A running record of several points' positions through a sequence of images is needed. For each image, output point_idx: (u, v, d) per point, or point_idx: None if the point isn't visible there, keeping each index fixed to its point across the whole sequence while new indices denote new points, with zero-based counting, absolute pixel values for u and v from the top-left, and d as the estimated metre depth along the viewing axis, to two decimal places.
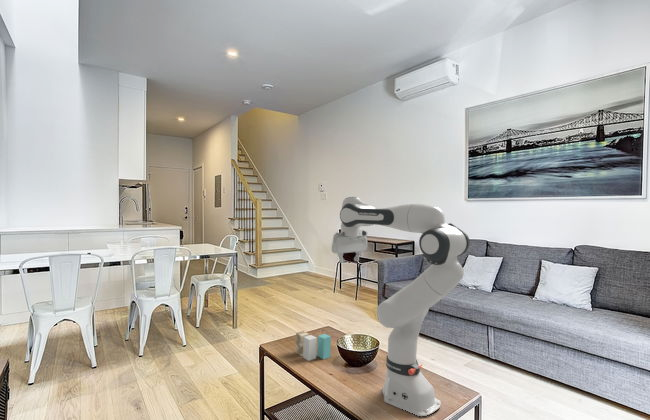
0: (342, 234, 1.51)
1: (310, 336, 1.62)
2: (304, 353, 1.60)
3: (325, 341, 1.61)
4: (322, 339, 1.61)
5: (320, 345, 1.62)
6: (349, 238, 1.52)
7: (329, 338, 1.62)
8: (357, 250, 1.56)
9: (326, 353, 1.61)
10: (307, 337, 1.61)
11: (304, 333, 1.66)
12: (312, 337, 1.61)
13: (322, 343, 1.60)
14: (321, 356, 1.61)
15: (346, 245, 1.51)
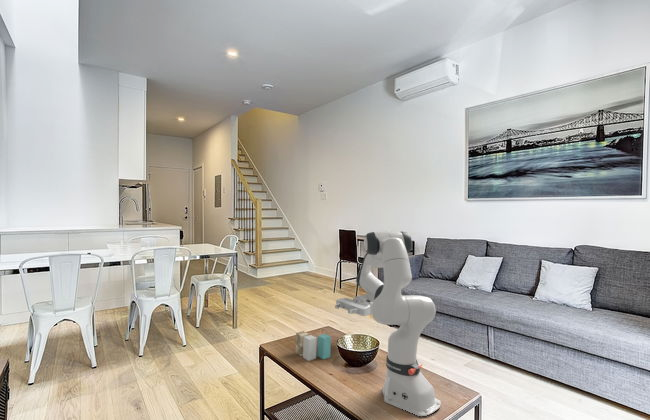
0: None
1: (310, 336, 1.62)
2: (304, 353, 1.60)
3: (325, 341, 1.61)
4: (322, 339, 1.61)
5: (320, 345, 1.62)
6: (353, 300, 1.80)
7: (329, 338, 1.62)
8: (354, 305, 1.72)
9: (326, 353, 1.61)
10: (307, 337, 1.61)
11: (304, 333, 1.66)
12: (312, 337, 1.61)
13: (322, 343, 1.60)
14: (321, 356, 1.61)
15: (347, 301, 1.79)
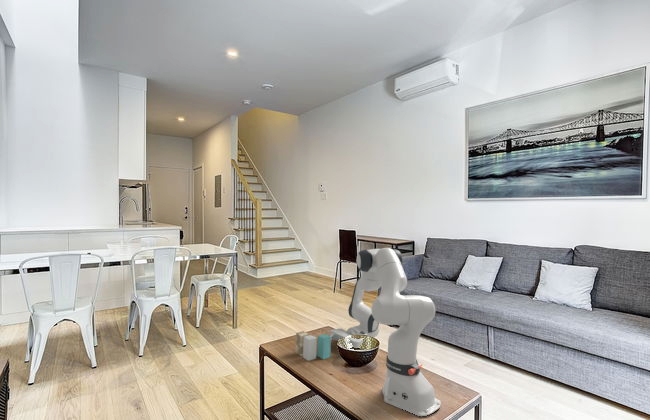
0: None
1: (310, 336, 1.62)
2: (304, 353, 1.60)
3: (325, 341, 1.61)
4: (322, 339, 1.61)
5: (320, 345, 1.62)
6: (347, 331, 1.77)
7: (329, 338, 1.62)
8: None
9: (326, 353, 1.61)
10: (307, 337, 1.61)
11: (304, 333, 1.66)
12: (312, 337, 1.61)
13: (322, 343, 1.60)
14: (321, 356, 1.61)
15: (341, 332, 1.76)
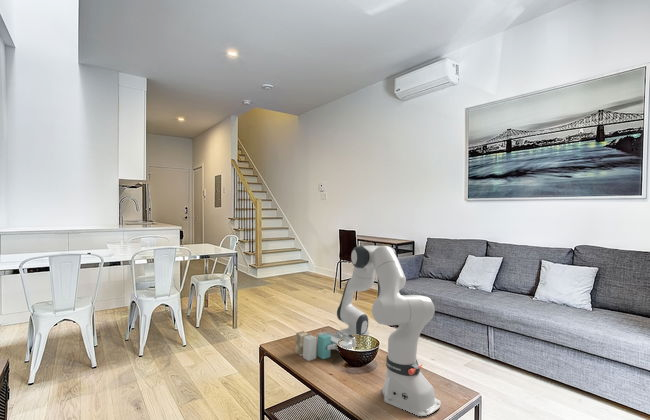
0: None
1: (310, 336, 1.62)
2: (304, 353, 1.60)
3: (325, 341, 1.61)
4: (322, 339, 1.61)
5: (320, 344, 1.62)
6: (336, 334, 1.72)
7: (329, 338, 1.62)
8: (335, 341, 1.63)
9: (326, 353, 1.61)
10: (307, 337, 1.61)
11: (304, 333, 1.66)
12: (312, 337, 1.61)
13: (322, 342, 1.60)
14: (321, 356, 1.61)
15: (329, 335, 1.71)
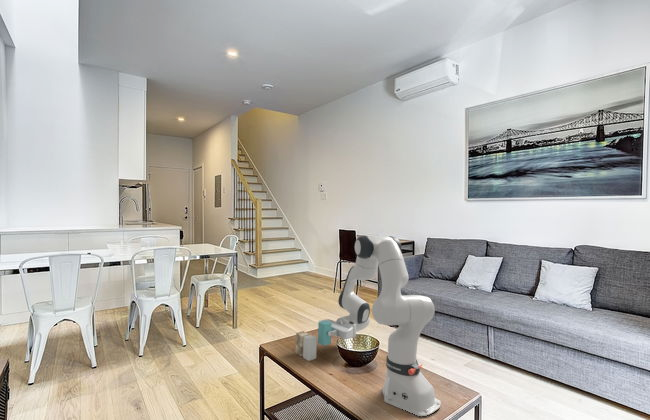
0: None
1: (310, 336, 1.62)
2: (304, 353, 1.60)
3: (326, 327, 1.60)
4: (323, 325, 1.60)
5: (321, 331, 1.61)
6: (336, 321, 1.71)
7: (330, 324, 1.62)
8: (336, 328, 1.63)
9: (327, 339, 1.61)
10: (307, 337, 1.61)
11: (304, 333, 1.66)
12: (312, 337, 1.61)
13: (323, 329, 1.60)
14: (322, 342, 1.60)
15: None
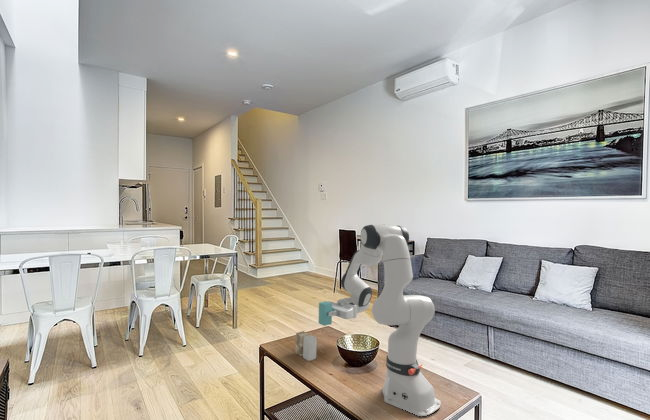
0: None
1: (310, 336, 1.62)
2: (304, 353, 1.60)
3: (326, 307, 1.60)
4: (323, 305, 1.60)
5: (321, 311, 1.61)
6: None
7: (330, 305, 1.62)
8: (336, 308, 1.63)
9: (327, 319, 1.61)
10: (307, 337, 1.61)
11: (304, 333, 1.66)
12: (312, 337, 1.61)
13: (324, 309, 1.60)
14: (322, 323, 1.61)
15: None
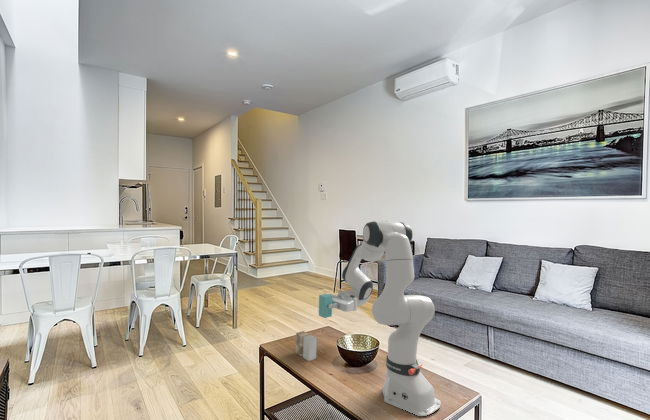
0: None
1: (310, 336, 1.62)
2: (304, 353, 1.60)
3: (326, 300, 1.60)
4: (323, 298, 1.60)
5: (321, 304, 1.61)
6: None
7: (330, 297, 1.62)
8: (336, 301, 1.63)
9: (327, 312, 1.61)
10: (307, 337, 1.61)
11: (304, 333, 1.66)
12: (312, 337, 1.61)
13: (324, 301, 1.60)
14: (322, 315, 1.61)
15: None
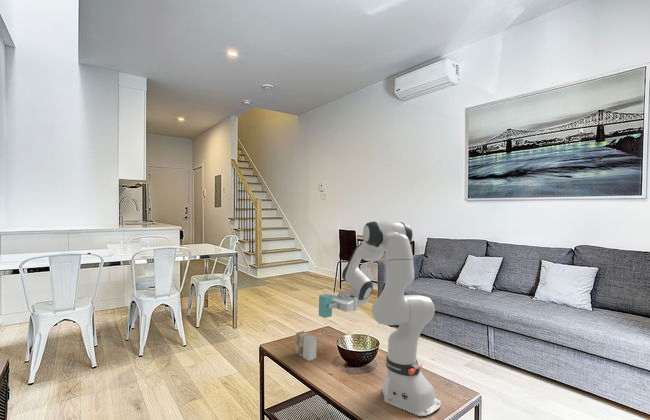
0: None
1: (310, 336, 1.62)
2: (304, 353, 1.60)
3: (326, 300, 1.60)
4: (323, 298, 1.60)
5: (321, 304, 1.61)
6: None
7: (330, 297, 1.62)
8: (336, 301, 1.63)
9: (327, 312, 1.61)
10: (307, 337, 1.61)
11: (304, 333, 1.66)
12: (312, 337, 1.61)
13: (324, 301, 1.60)
14: (322, 315, 1.61)
15: None
